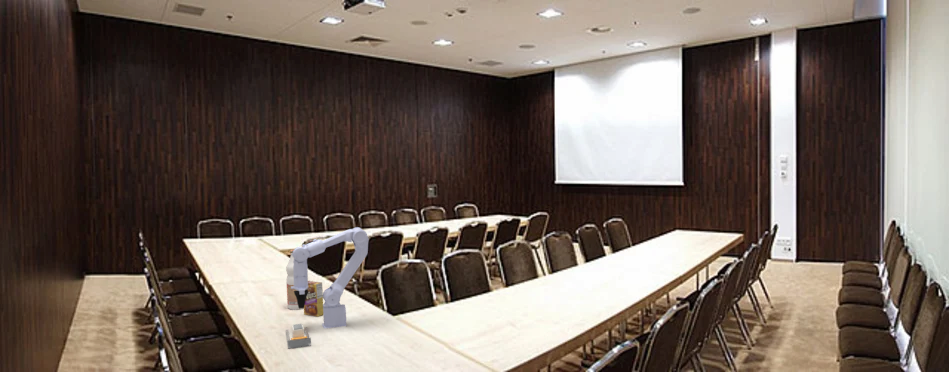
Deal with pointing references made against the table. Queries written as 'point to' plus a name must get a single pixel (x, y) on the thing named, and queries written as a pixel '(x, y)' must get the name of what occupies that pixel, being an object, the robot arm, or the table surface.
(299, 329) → the module
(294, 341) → the gray u-shaped frame
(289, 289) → the fruit juice
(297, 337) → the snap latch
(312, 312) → the candy box
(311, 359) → the table surface
